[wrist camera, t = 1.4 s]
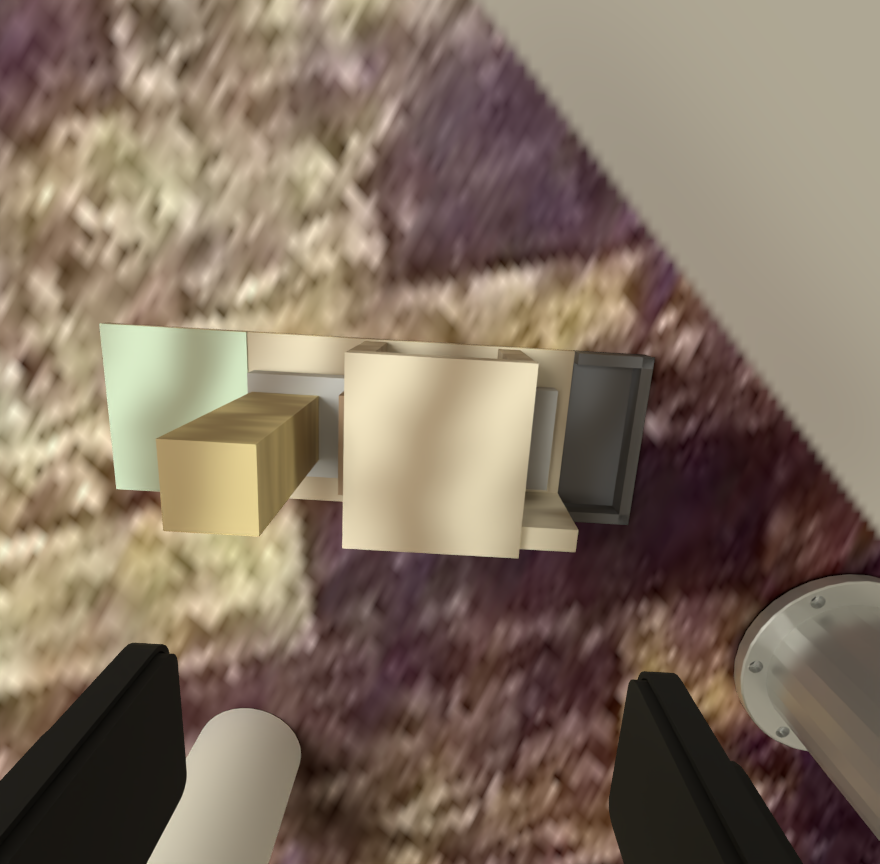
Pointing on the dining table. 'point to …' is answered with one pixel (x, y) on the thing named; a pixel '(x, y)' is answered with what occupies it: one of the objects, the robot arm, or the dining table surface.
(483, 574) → the dining table surface
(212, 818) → the cylindrical container
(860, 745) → the robot arm
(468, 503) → the tunnel
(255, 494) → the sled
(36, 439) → the dining table surface
